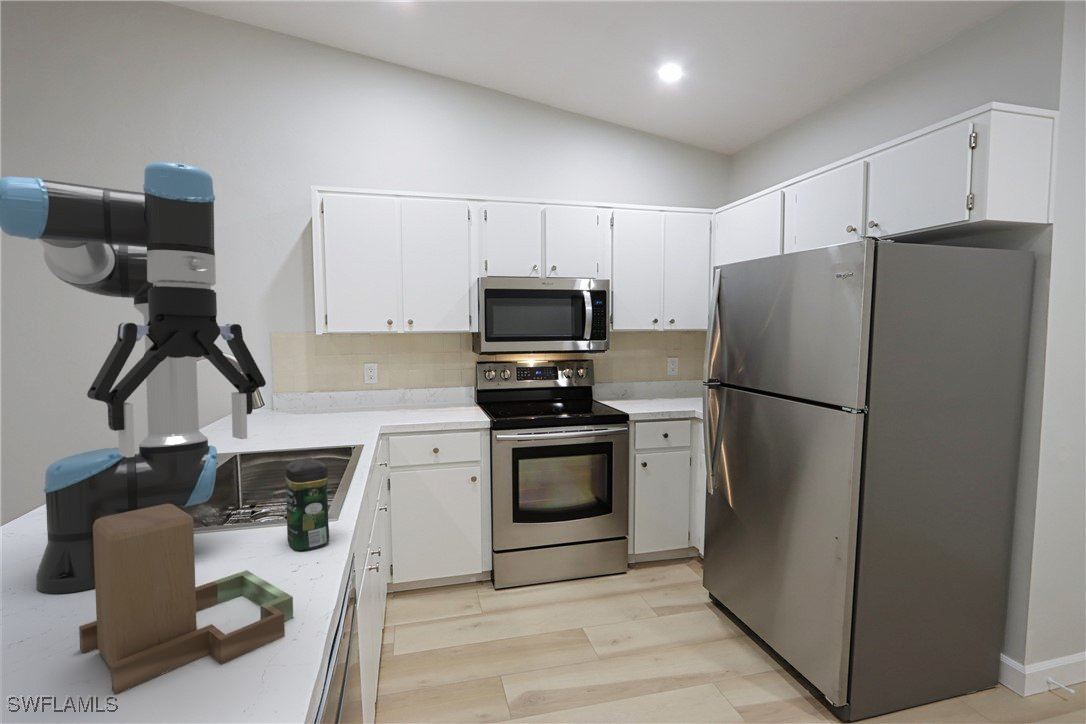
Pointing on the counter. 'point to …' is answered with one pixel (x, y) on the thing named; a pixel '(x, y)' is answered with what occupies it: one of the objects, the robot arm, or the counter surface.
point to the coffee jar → (307, 504)
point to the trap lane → (204, 632)
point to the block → (143, 579)
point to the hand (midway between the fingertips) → (187, 446)
